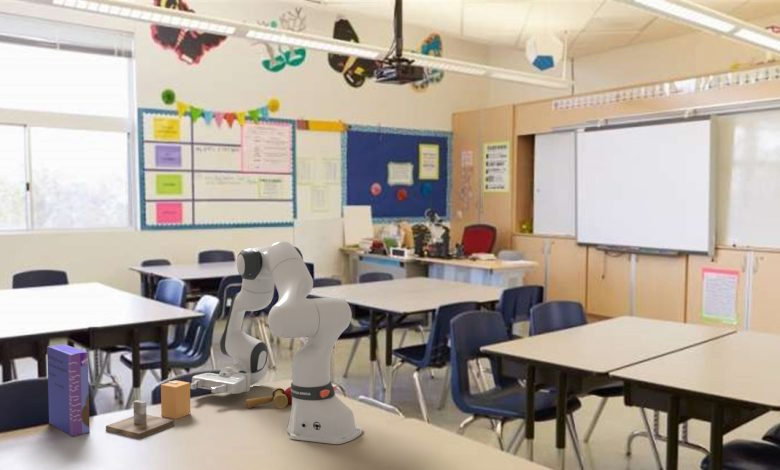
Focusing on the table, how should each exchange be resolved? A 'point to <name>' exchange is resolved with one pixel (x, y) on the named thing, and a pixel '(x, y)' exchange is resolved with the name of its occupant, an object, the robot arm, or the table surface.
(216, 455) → the table surface
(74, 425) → the cereal box
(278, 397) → the kendama
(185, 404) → the orange block
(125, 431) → the shaft base
